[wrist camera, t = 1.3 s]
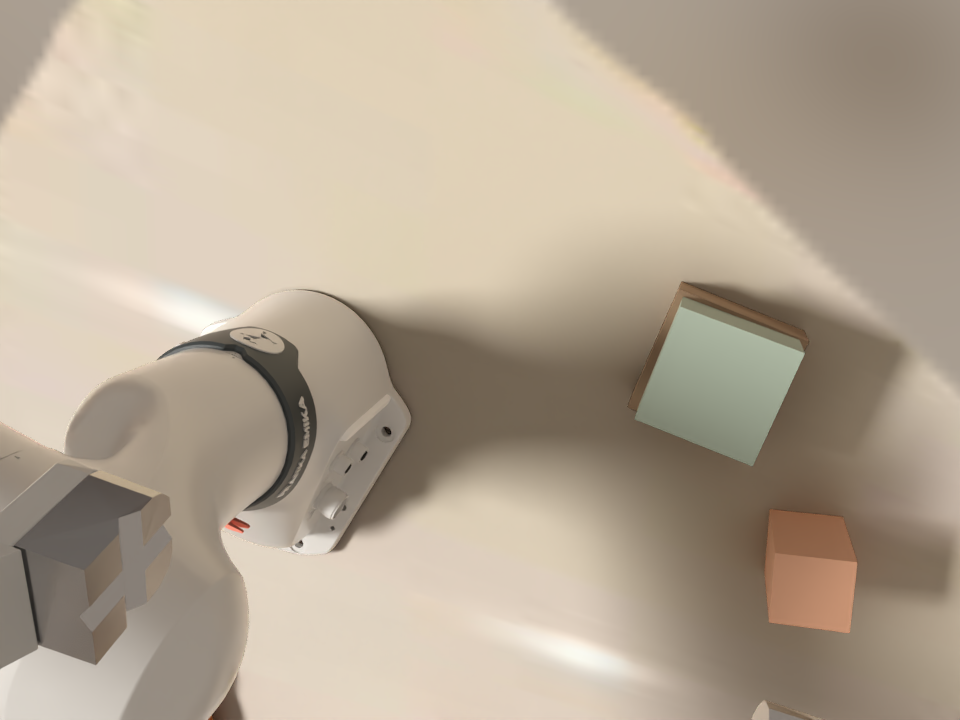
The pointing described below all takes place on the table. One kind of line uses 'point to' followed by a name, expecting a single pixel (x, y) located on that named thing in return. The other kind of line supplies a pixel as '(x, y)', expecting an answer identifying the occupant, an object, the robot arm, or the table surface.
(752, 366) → the tower top
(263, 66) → the table surface
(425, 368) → the table surface
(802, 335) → the tower base
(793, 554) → the terracotta block
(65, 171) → the table surface
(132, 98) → the table surface
